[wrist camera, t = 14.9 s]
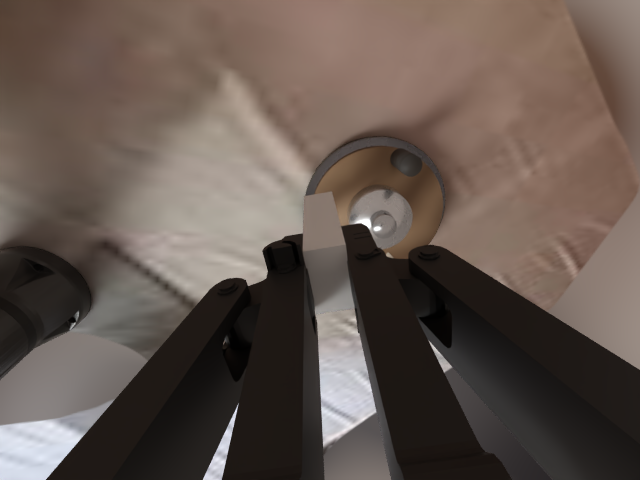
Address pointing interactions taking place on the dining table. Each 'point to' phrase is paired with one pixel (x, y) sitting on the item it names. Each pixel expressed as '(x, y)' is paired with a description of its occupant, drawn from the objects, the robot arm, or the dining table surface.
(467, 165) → the dining table surface
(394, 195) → the cover
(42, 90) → the dining table surface
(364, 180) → the platter
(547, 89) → the dining table surface
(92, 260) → the dining table surface
